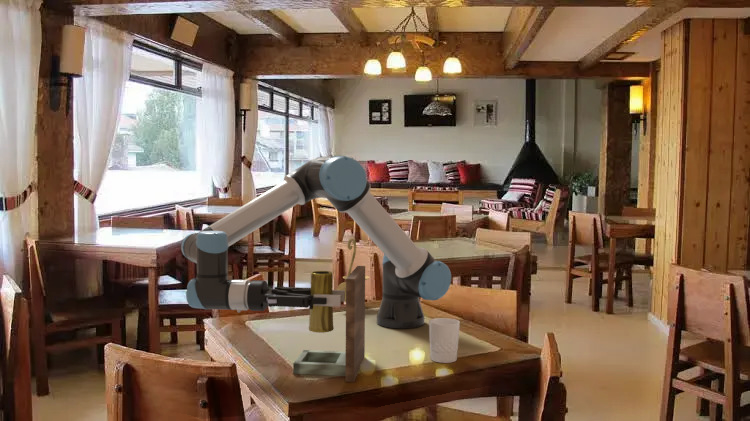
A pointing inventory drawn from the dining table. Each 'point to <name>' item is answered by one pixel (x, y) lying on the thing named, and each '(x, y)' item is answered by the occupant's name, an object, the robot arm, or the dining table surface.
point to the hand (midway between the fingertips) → (342, 298)
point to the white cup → (444, 339)
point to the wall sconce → (343, 285)
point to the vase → (321, 314)
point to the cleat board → (355, 337)
